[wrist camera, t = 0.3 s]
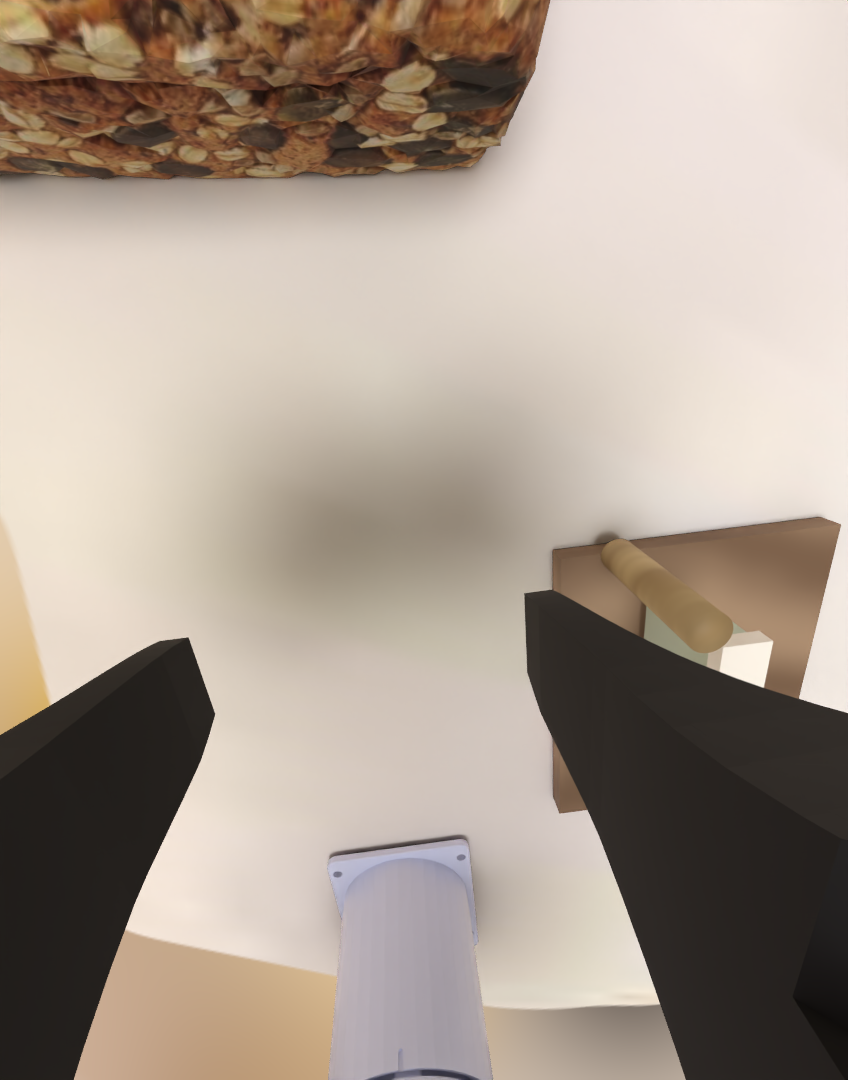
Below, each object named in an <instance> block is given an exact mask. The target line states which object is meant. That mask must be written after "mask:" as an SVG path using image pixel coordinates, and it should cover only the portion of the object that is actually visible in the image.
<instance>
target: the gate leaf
mask: <svg viewBox="0 0 848 1080" xmlns="http://www.w3.org/2000/svg"><path fill="white" fill-rule="evenodd" d="M732 622H733V621H732ZM644 639H646V640H648V641H650V642H652V643H654V644H656V645H658V646H660V647H663V648H665V649H667V650H669V651H671V652H673V653H675V654H677V655H680V656H682V657H684V658H687V659H689V660H691V661H694V662H696V663H699V664H701V665H704V666H706V667H709V668H711V669H714V670H717V671H719V672H722V673H724V674H727V675H729V676H732V677H735V678H737V679H740V680H743V681H746V682H748V683H751V684H754V685H757V686H760V687H763V688H764V684H765V679H766V674H767V670H768V665H769V660H770V655H771V650H772V645H773V640H771V639H770V638H768V637H767V636H766V635H764V634H763V633H762V632H760V631H753V632H746V631H744V630H743V629H742V628H740V627H739V626H738V625H737V624H735V623H734V622H733V633H732V636H731V638H730V639H729V641H728V642H727V643H726V644H725V645H724V646H723V647H721V648H720V649H718V650H716V651H714V652H710V653H698V652H695V651H693V650H692V649H691V648H690V647H689V646H688V645H687V644H686V643H685V642H684V641H683V640H682V639H680V638H679V637H678V636H677V635H676V634H675V633H674V632H673V631H672V630H671V629H670V628H669V627H668V626H667V625H666V624H665V623H664V622H663V621H662V620H661V619H660V618H659V617H658V616H656V615H655V614H654V613H653V612H652V611H651V610H650V609H649V608H648V607H646V619H645V631H644Z"/></svg>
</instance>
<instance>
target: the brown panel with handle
mask: <svg viewBox="0 0 848 1080" xmlns="http://www.w3.org/2000/svg"><path fill="white" fill-rule="evenodd" d="M840 527H841V524H838V523H836V522H833V521H830V520H827V519H824V518H822V517H817V518H809V519H801V520H793V521H785V522H776V523H768V524H760V525H752V526H744V527H736V528H728V529H720V530H712V531H703V532H695V533H687V534H679V535H671V536H663V537H655V538H647V539H639V540H630V541H627V540H625V539H615V540H613V541H611V542H609V543H606V544H598V545H590V546H582V547H574V548H566V549H557V550H553V590H554V591H556V592H559V593H560V594H562V595H564V596H566V597H568V598H570V599H572V600H573V601H575V602H577V603H579V604H581V605H582V606H584V607H586V608H588V609H589V610H591V611H593V612H595V613H596V614H598V615H600V616H602V617H604V618H605V619H607V620H609V621H611V622H613V623H615V624H617V625H618V626H620V627H622V628H624V629H626V630H628V631H630V632H632V633H634V634H636V635H638V636H640V637H642V638H644V631H645V619H646V607H648V608H649V609H650V610H651V611H652V612H653V613H654V614H655V615H656V616H658V617H659V618H660V619H661V620H662V621H663V622H664V623H665V624H666V625H667V626H668V627H669V628H670V629H671V630H672V631H673V632H674V633H675V634H676V635H677V636H678V637H679V638H680V639H682V640H683V641H684V642H685V643H686V644H687V645H688V646H689V647H690V648H691V649H692V650H693V651H695V652H698V653H710V652H714V651H716V650H718V649H720V648H721V647H723V646H724V645H725V644H726V643H727V642H728V641H729V639H730V638H731V636H732V633H733V622H734V623H735V624H737V625H738V626H739V627H740V628H742V629H743V630H744V631H746V632H753V631H760V632H762V633H763V634H764V635H766V636H767V637H768V638H770V639H771V640H773V645H772V650H771V655H770V660H769V665H768V670H767V674H766V679H765V684H764V688H766V689H769V690H772V691H775V692H778V693H782V694H785V695H788V696H791V697H794V698H797V699H799V695H800V691H801V687H802V683H803V678H804V674H805V670H806V666H807V662H808V658H809V654H810V650H811V646H812V642H813V638H814V633H815V629H816V625H817V621H818V617H819V613H820V609H821V605H822V601H823V597H824V592H825V588H826V584H827V580H828V576H829V572H830V568H831V564H832V560H833V556H834V551H835V547H836V543H837V539H838V535H839V531H840ZM732 621H733V622H732ZM553 797H554V800H555V803H556V805H557V808H558V811H559V813H567V812H575V811H582V810H587V808H586V806H585V803H584V801H583V799H582V797H581V795H580V793H579V791H578V789H577V787H576V785H575V783H574V781H573V779H572V777H571V775H570V773H569V771H568V768H567V766H566V764H565V762H564V760H563V758H562V756H561V754H560V752H559V750H558V748H557V746H556V744H555V742H554V740H553Z"/></svg>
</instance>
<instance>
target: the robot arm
mask: <svg viewBox="0 0 848 1080" xmlns="http://www.w3.org/2000/svg"><path fill="white" fill-rule="evenodd" d="M524 595H525V622H526V649H527V673H528V676H529V679H530V682H531V685H532V688H533V691H534V694H535V697H536V700H537V703H538V706H539V709H540V712H541V714H542V716H543V719H544V721H545V723H546V725H547V727H548V729H549V731H550V733H551V735H552V737H553V740H554V742H555V744H556V746H557V748H558V750H559V752H560V754H561V756H562V758H563V760H564V762H565V764H566V766H567V768H568V771H569V773H570V775H571V777H572V779H573V781H574V783H575V785H576V787H577V789H578V791H579V793H580V795H581V797H582V799H583V801H584V803H585V806H586V808H587V810H588V812H589V814H590V816H591V818H592V821H593V823H594V825H595V828H596V830H597V832H598V834H599V837H600V839H601V842H602V844H603V847H604V850H605V852H606V855H607V858H608V860H609V863H610V866H611V868H612V871H613V874H614V876H615V879H616V882H617V884H618V887H619V890H620V892H621V895H622V898H623V900H624V903H625V906H626V909H627V911H628V914H629V917H630V920H631V922H632V925H633V928H634V931H635V934H636V936H637V939H638V942H639V945H640V947H641V950H642V953H643V956H644V958H645V961H646V964H647V967H648V970H649V973H650V976H651V978H652V981H653V984H654V987H655V990H656V993H657V996H658V999H659V1002H660V1005H661V1007H662V1010H663V1013H664V1016H665V1019H666V1022H667V1025H668V1028H669V1031H670V1033H671V1036H672V1039H673V1042H674V1045H675V1048H676V1051H677V1054H678V1057H679V1060H680V1063H681V1066H682V1069H683V1072H684V1075H685V1078H686V1080H848V713H845V712H842V711H838V710H834V709H831V708H827V707H824V706H820V705H817V704H813V703H810V702H807V701H804V700H801V699H797V698H794V697H791V696H788V695H785V694H782V693H778V692H775V691H772V690H769V689H766V688H763V687H760V686H757V685H754V684H751V683H748V682H746V681H743V680H740V679H737V678H735V677H732V676H729V675H727V674H724V673H722V672H719V671H717V670H714V669H711V668H709V667H706V666H704V665H701V664H699V663H696V662H694V661H691V660H689V659H687V658H684V657H682V656H680V655H677V654H675V653H673V652H671V651H669V650H667V649H665V648H663V647H660V646H658V645H656V644H654V643H652V642H650V641H648V640H646V639H644V638H642V637H640V636H638V635H636V634H634V633H632V632H630V631H628V630H626V629H624V628H622V627H620V626H618V625H617V624H615V623H613V622H611V621H609V620H607V619H605V618H604V617H602V616H600V615H598V614H596V613H595V612H593V611H591V610H589V609H588V608H586V607H584V606H582V605H581V604H579V603H577V602H575V601H573V600H572V599H570V598H568V597H566V596H564V595H562V594H560V593H559V592H556V591H554V590H547V591H539V592H532V593H524ZM214 717H215V712H214V710H213V707H212V704H211V701H210V698H209V695H208V692H207V689H206V687H205V684H204V681H203V678H202V675H201V672H200V669H199V666H198V664H197V661H196V658H195V655H194V652H193V649H192V646H191V643H190V641H189V638H180V639H173V640H165V641H159V642H157V643H155V644H153V645H151V646H149V647H147V648H145V649H143V650H141V651H139V652H137V653H136V654H134V655H132V656H130V657H129V658H127V659H125V660H124V661H122V662H120V663H119V664H117V665H115V666H114V667H112V668H111V669H109V670H107V671H106V672H104V673H102V674H101V675H99V676H98V677H96V678H94V679H93V680H91V681H90V682H88V683H86V684H85V685H83V686H81V687H80V688H78V689H77V690H75V691H73V692H72V693H70V694H69V695H67V696H65V697H64V698H62V699H60V700H59V701H57V702H56V703H54V704H52V705H51V706H49V707H47V708H46V709H44V710H42V711H40V712H39V713H37V714H35V715H34V716H32V717H30V718H29V719H27V720H25V721H24V722H22V723H20V724H18V725H17V726H15V727H13V728H12V729H10V730H8V731H7V732H5V733H3V734H1V735H0V1080H74V1077H75V1073H76V1070H77V1067H78V1064H79V1061H80V1057H81V1054H82V1051H83V1048H84V1045H85V1042H86V1039H87V1036H88V1033H89V1030H90V1027H91V1024H92V1021H93V1019H94V1016H95V1012H96V1010H97V1006H98V1004H99V1001H100V998H101V995H102V992H103V989H104V986H105V983H106V980H107V977H108V974H109V972H110V969H111V966H112V963H113V961H114V958H115V955H116V952H117V950H118V947H119V944H120V942H121V939H122V936H123V934H124V931H125V928H126V925H127V923H128V920H129V917H130V915H131V912H132V909H133V907H134V904H135V902H136V899H137V897H138V895H139V892H140V890H141V888H142V885H143V883H144V881H145V878H146V876H147V874H148V872H149V870H150V868H151V865H152V863H153V861H154V859H155V857H156V855H157V853H158V851H159V849H160V846H161V844H162V842H163V840H164V838H165V836H166V834H167V832H168V830H169V828H170V825H171V823H172V821H173V819H174V817H175V815H176V813H177V811H178V809H179V807H180V804H181V802H182V800H183V798H184V796H185V794H186V792H187V789H188V787H189V785H190V783H191V781H192V779H193V776H194V774H195V772H196V770H197V768H198V765H199V763H200V761H201V758H202V755H203V752H204V749H205V746H206V743H207V740H208V737H209V734H210V730H211V727H212V723H213V720H214ZM327 869H328V873H329V876H330V880H331V884H332V887H333V891H334V894H335V898H336V902H337V905H338V909H339V913H340V916H341V920H342V930H341V941H340V953H339V964H338V975H337V986H336V997H335V1009H334V1020H333V1031H332V1042H331V1053H330V1065H329V1076H328V1080H493V1075H492V1068H491V1061H490V1054H489V1047H488V1040H487V1033H486V1026H485V1019H484V1012H483V1004H482V997H481V990H480V983H479V976H478V969H477V962H476V955H475V947H474V946H475V945H476V944H477V943H478V932H477V922H476V912H475V902H474V893H473V883H472V873H471V863H470V853H469V846H468V842H467V841H465V840H463V839H456V840H449V841H442V842H435V843H427V844H420V845H413V846H405V847H398V848H391V849H383V850H376V851H369V852H361V853H354V854H347V855H339V856H334V857H332V858H330V859H329V861H328V868H327Z"/></svg>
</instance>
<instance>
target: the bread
mask: <svg viewBox="0 0 848 1080" xmlns="http://www.w3.org/2000/svg"><path fill="white" fill-rule="evenodd" d="M549 3H550V0H0V174H16V173H38V174H48V175H59V176H82V177H88V176H90V175H91V176H94V177H97V178H101V179H106V178H110V177H113V176H117V175H125V176H134V177H150V178H161V179H169V178H171V177H172V176H174V175H181V176H188V177H196V178H262V177H281V178H290V177H293V176H295V175H298V174H300V173H303V172H305V171H307V172H317V173H323V174H326V175H330V176H333V177H336V176H340V175H344V174H376V173H378V172H380V171H382V170H384V169H386V168H387V169H389V170H391V171H394V172H396V173H399V172H405V171H411V170H418V169H431V170H445V169H449V168H452V167H456V166H463V167H471V166H472V165H473V164H475V163H476V162H478V161H479V159H480V158H481V157H482V156H483V154H484V153H485V152H486V148H488V147H490V146H501V137H502V136H505V134H506V131H507V128H508V125H509V122H510V120H511V119H512V117H513V115H514V112H515V110H516V108H517V106H518V104H519V102H520V100H521V98H522V96H523V94H524V90H525V89H526V87H527V85H528V83H529V81H530V79H531V77H532V75H533V73H534V71H535V64H536V57H537V54H538V50H539V46H540V42H541V37H542V33H543V29H544V25H545V20H546V16H547V12H548V8H549Z"/></svg>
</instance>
